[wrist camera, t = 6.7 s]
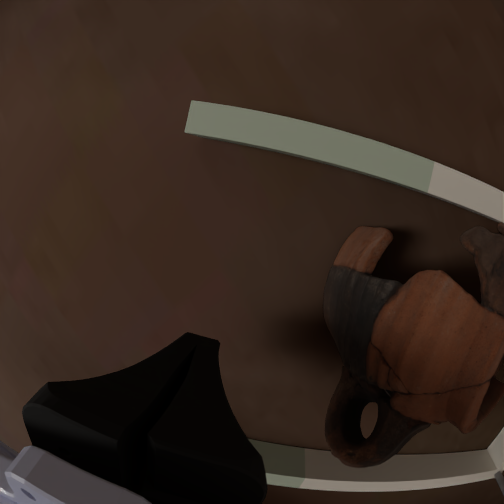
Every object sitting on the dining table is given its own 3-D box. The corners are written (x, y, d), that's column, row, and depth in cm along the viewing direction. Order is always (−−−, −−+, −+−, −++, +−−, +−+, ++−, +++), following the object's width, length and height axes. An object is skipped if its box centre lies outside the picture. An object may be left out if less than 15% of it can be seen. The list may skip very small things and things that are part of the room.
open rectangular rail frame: (487, 457, 17) (530, 554, 6) (162, 428, 18) (96, 575, 7) (595, 251, 12) (702, 312, 1) (207, 110, 13) (-6, -3, 2)
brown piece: (371, 157, 13) (551, 184, 6) (446, 249, 18) (556, 292, 11) (233, 392, 13) (342, 537, 6) (350, 412, 18) (439, 490, 11)
